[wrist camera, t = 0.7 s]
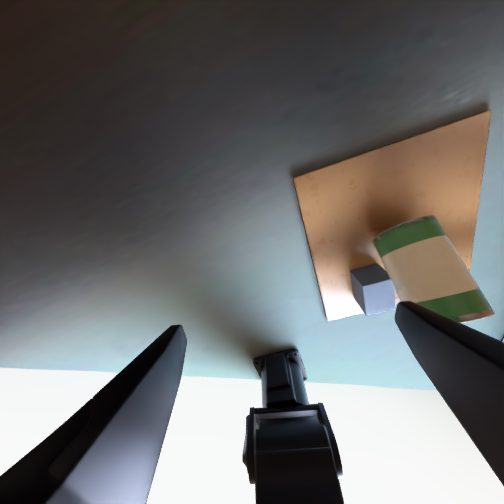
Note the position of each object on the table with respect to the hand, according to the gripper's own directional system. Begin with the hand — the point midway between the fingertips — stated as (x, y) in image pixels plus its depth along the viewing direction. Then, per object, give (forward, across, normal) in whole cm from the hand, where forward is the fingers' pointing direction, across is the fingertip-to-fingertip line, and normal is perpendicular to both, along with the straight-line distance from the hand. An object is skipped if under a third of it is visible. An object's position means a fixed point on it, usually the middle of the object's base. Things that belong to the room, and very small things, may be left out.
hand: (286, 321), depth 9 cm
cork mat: (+14, -12, +3) cm, 19 cm away
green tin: (+13, -13, +4) cm, 19 cm away
